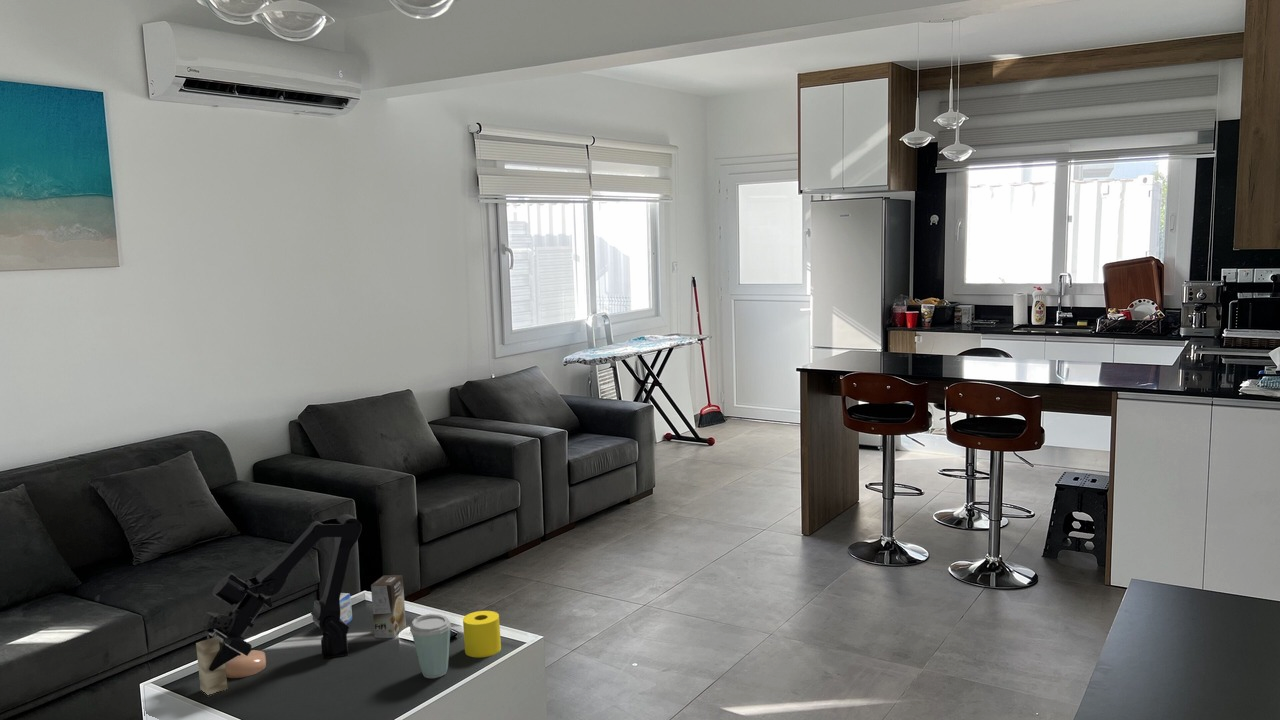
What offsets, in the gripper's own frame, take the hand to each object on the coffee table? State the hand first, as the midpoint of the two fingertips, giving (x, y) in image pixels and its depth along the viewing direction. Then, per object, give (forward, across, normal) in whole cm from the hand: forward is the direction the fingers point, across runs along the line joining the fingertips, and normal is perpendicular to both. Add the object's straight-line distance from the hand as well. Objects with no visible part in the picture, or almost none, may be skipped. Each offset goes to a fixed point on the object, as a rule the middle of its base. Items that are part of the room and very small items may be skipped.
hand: (206, 667), depth 246 cm
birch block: (+4, 0, +6) cm, 7 cm away
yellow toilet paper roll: (-39, +35, +49) cm, 72 cm away
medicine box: (-27, -15, +37) cm, 48 cm away
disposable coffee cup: (-27, +38, +36) cm, 59 cm away
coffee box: (-32, +3, +42) cm, 52 cm away
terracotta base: (-4, -6, +13) cm, 15 cm away
